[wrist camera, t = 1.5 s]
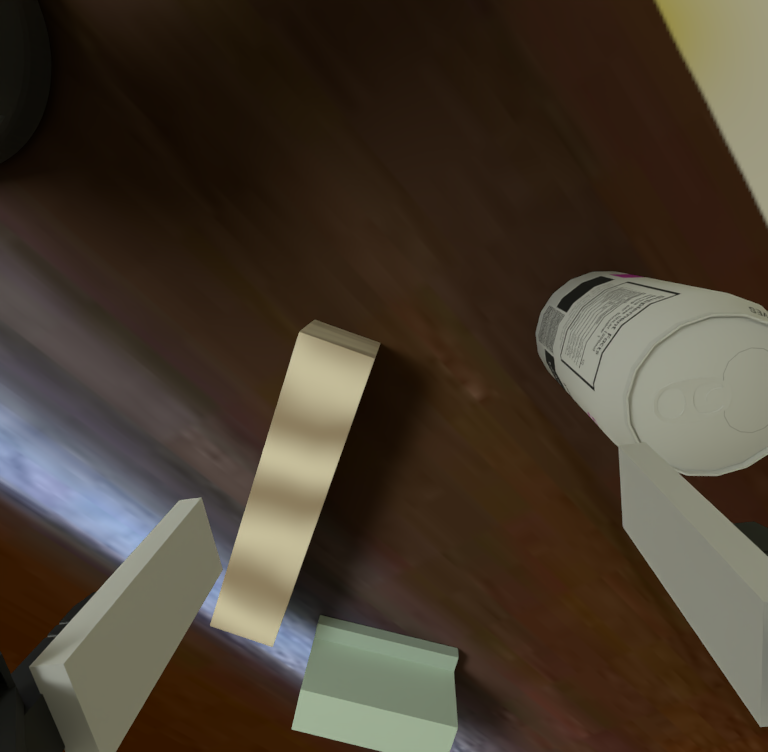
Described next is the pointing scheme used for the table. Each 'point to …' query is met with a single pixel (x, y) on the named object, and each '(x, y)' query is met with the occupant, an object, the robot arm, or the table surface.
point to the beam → (293, 478)
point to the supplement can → (663, 367)
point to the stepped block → (378, 689)
